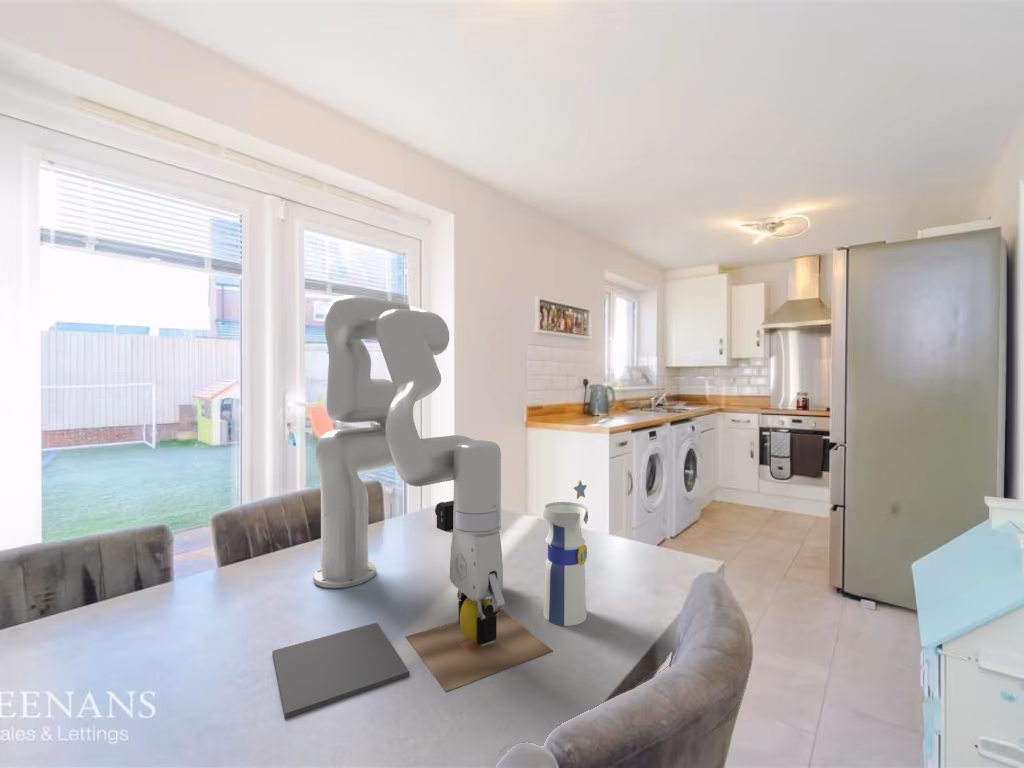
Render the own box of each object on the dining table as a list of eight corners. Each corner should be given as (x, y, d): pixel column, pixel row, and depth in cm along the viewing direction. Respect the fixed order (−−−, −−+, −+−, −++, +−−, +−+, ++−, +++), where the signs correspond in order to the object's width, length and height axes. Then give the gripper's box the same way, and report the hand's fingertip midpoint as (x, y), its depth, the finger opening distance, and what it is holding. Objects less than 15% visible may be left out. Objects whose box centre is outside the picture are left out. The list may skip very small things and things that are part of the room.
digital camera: (463, 519, 142) (463, 496, 142) (474, 524, 138) (474, 500, 138) (434, 527, 135) (434, 502, 135) (444, 531, 131) (444, 506, 131)
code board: (405, 637, 77) (405, 636, 77) (500, 609, 86) (500, 608, 86) (445, 692, 63) (445, 690, 63) (552, 651, 73) (552, 650, 73)
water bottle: (596, 610, 86) (596, 473, 86) (578, 631, 78) (578, 482, 78) (555, 599, 90) (555, 469, 90) (534, 618, 83) (534, 477, 82)
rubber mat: (272, 654, 72) (272, 650, 72) (376, 625, 80) (376, 622, 80) (284, 718, 58) (284, 713, 58) (409, 675, 67) (409, 671, 67)
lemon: (453, 648, 73) (453, 597, 73) (469, 630, 78) (469, 582, 78) (485, 656, 71) (485, 603, 71) (499, 637, 76) (500, 588, 76)
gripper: (434, 509, 80) (434, 615, 80) (482, 538, 65) (481, 667, 65) (473, 503, 84) (473, 604, 84) (526, 529, 69) (526, 651, 69)
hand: (476, 631), depth 75 cm, fingers closed on lemon, 5 cm apart
